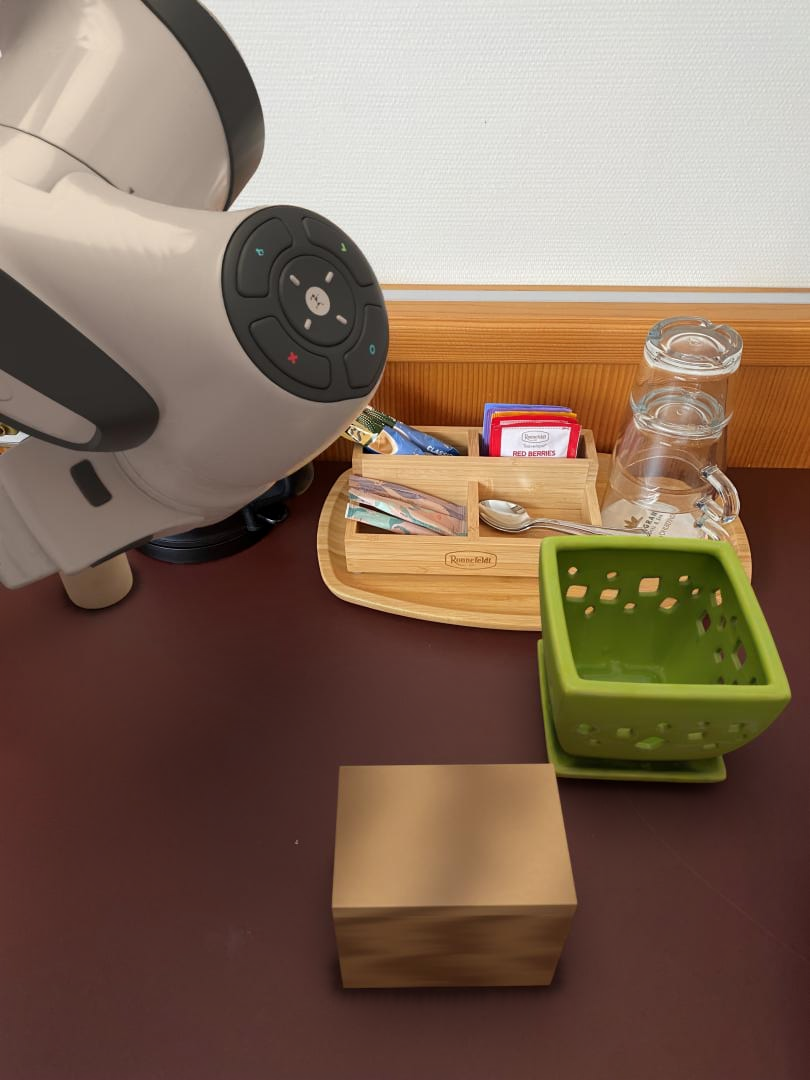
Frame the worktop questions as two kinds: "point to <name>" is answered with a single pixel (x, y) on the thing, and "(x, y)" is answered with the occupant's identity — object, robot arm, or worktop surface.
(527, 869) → the wooden crate-shaped block
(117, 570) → the candle
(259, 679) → the worktop surface
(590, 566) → the flower pot
